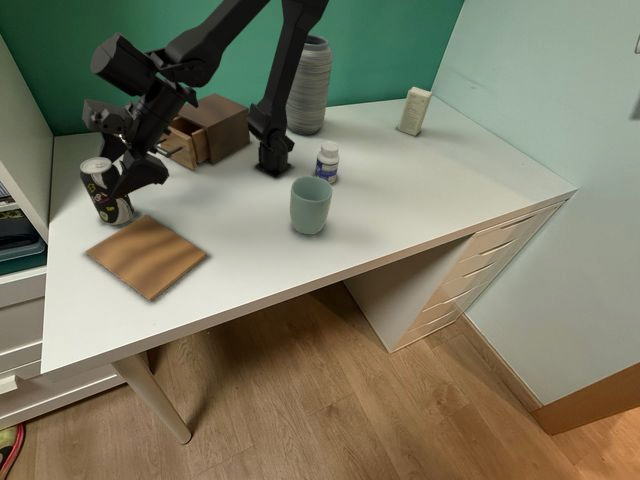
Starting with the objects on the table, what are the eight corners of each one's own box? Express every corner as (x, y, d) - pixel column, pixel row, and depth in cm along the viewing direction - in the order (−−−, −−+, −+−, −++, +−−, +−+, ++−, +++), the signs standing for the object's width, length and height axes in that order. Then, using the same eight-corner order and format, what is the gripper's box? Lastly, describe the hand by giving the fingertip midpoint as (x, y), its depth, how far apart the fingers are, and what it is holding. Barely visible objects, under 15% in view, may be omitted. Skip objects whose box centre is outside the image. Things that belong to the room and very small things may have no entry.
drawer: (177, 179, 72) (169, 147, 66) (146, 161, 75) (136, 130, 69) (231, 148, 82) (228, 119, 77) (202, 134, 85) (197, 105, 80)
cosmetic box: (419, 131, 103) (434, 92, 94) (414, 136, 100) (429, 97, 92) (401, 124, 105) (413, 85, 96) (396, 129, 102) (408, 90, 93)
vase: (275, 127, 94) (277, 37, 78) (298, 113, 101) (304, 28, 85) (309, 141, 91) (318, 51, 74) (330, 127, 98) (343, 41, 82)
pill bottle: (313, 170, 82) (317, 138, 75) (334, 171, 82) (340, 140, 76) (315, 183, 78) (319, 151, 72) (336, 184, 79) (343, 152, 72)
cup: (321, 243, 65) (328, 205, 58) (283, 235, 65) (286, 196, 58) (328, 218, 70) (336, 180, 63) (293, 210, 71) (297, 171, 63)
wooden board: (207, 256, 59) (206, 253, 59) (150, 301, 52) (149, 298, 51) (146, 217, 64) (145, 214, 63) (86, 254, 56) (85, 251, 56)
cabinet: (212, 164, 78) (207, 127, 71) (179, 147, 82) (171, 110, 75) (250, 142, 87) (248, 107, 80) (218, 127, 90) (214, 92, 83)
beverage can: (138, 222, 63) (117, 170, 54) (104, 230, 61) (77, 177, 52) (132, 204, 66) (112, 152, 57) (100, 211, 64) (73, 158, 55)
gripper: (89, 59, 53) (40, 136, 55) (126, 108, 44) (66, 198, 46) (152, 99, 62) (108, 163, 65) (193, 146, 53) (140, 219, 56)
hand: (105, 183), depth 58 cm, fingers open, 9 cm apart
